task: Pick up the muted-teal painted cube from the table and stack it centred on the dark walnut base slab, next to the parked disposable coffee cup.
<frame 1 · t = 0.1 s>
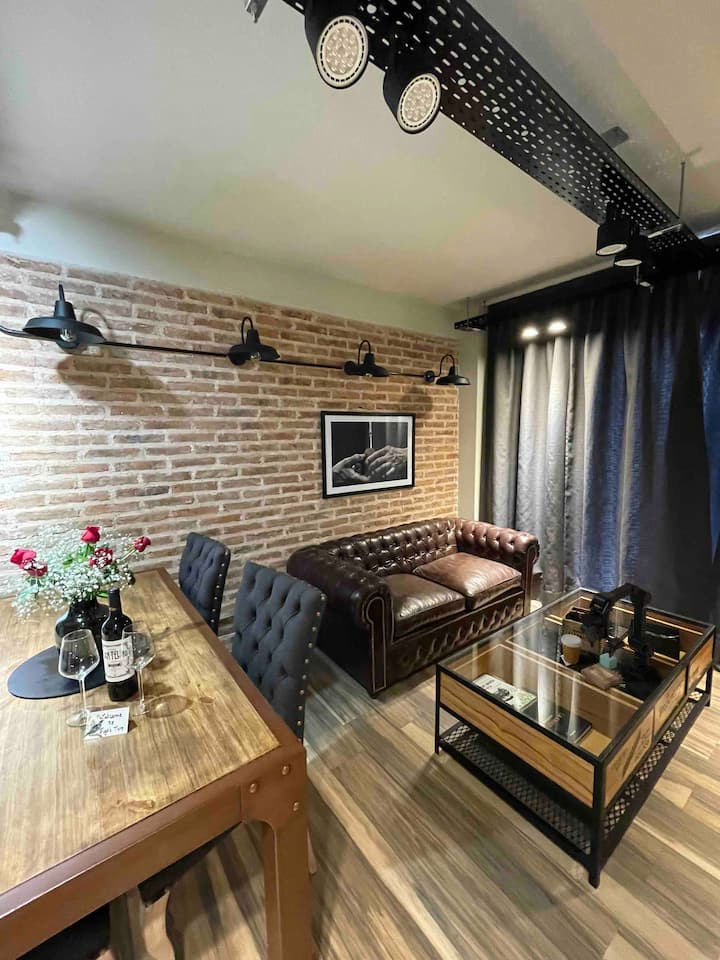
hand: (601, 652, 185), 15 cm above the table, fingers open, 9 cm apart
teal cube: (607, 666, 198), on the table
disposable coffee cup: (570, 660, 204), on the table
walnut base: (601, 678, 189), on the table
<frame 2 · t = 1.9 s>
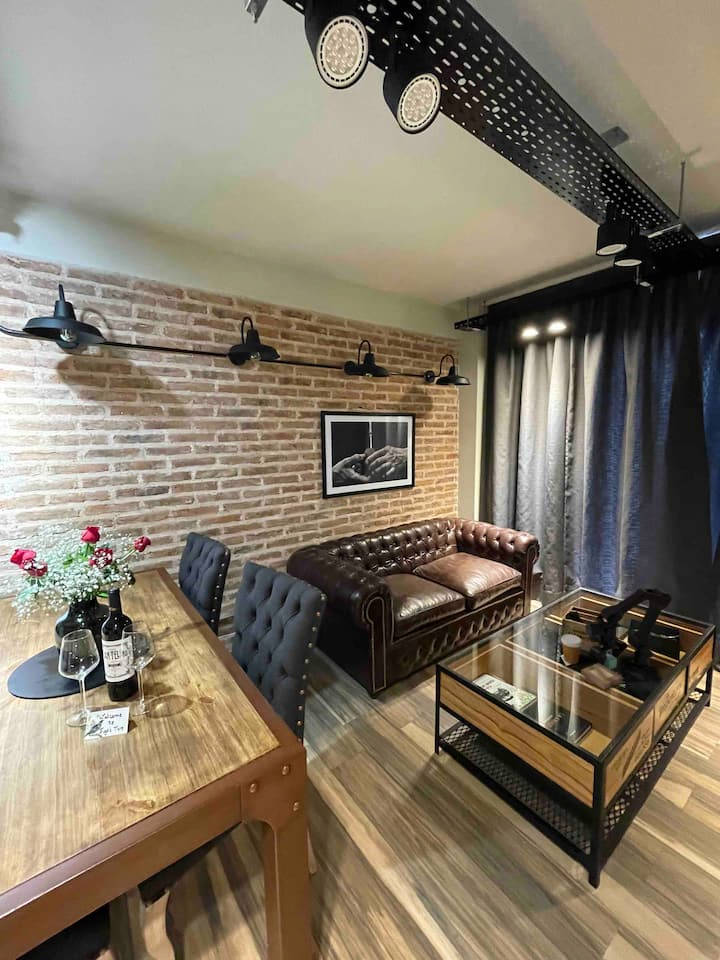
hand: (607, 663, 198), 1 cm above the table, fingers open, 8 cm apart
nothing on the table moved.
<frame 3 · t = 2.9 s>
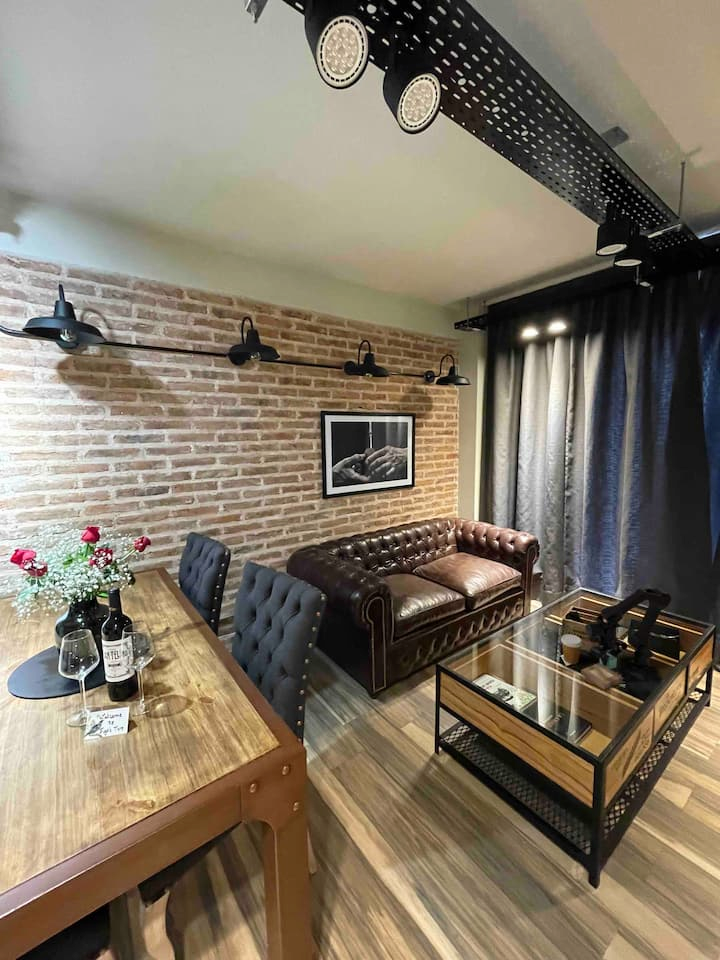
hand: (608, 663, 198), 1 cm above the table, fingers closed on teal cube, 5 cm apart
teal cube: (607, 665, 198), on the table, touching gripper
everything else where it was.
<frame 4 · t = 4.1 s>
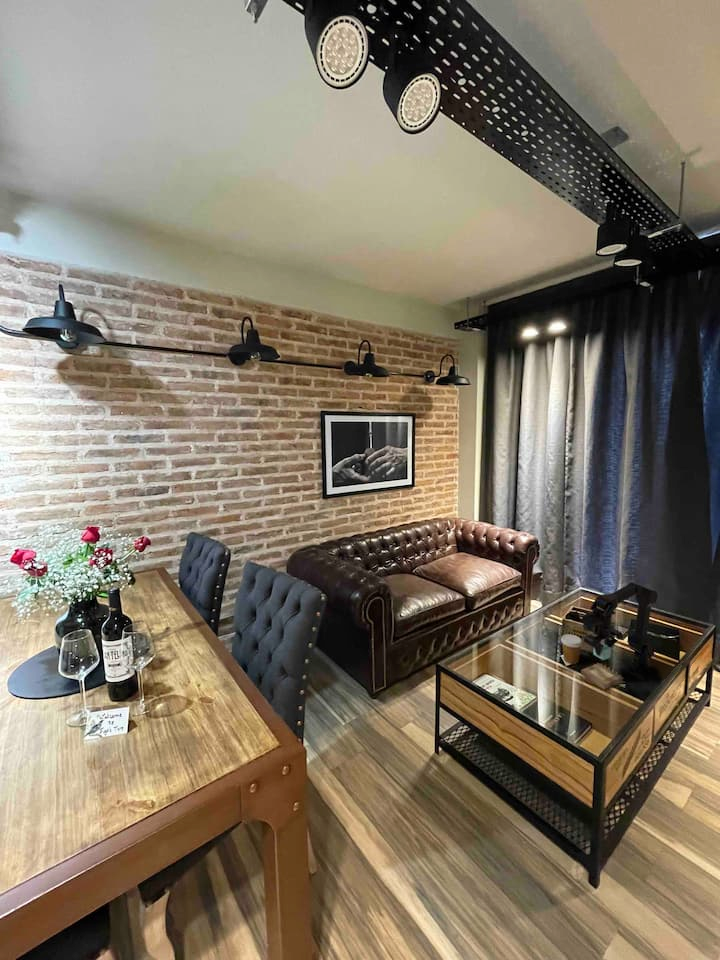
hand: (602, 654, 189), 12 cm above the table, fingers closed on teal cube, 5 cm apart
teal cube: (601, 655, 189), point 11 cm above the table, touching gripper
everything else where it was.
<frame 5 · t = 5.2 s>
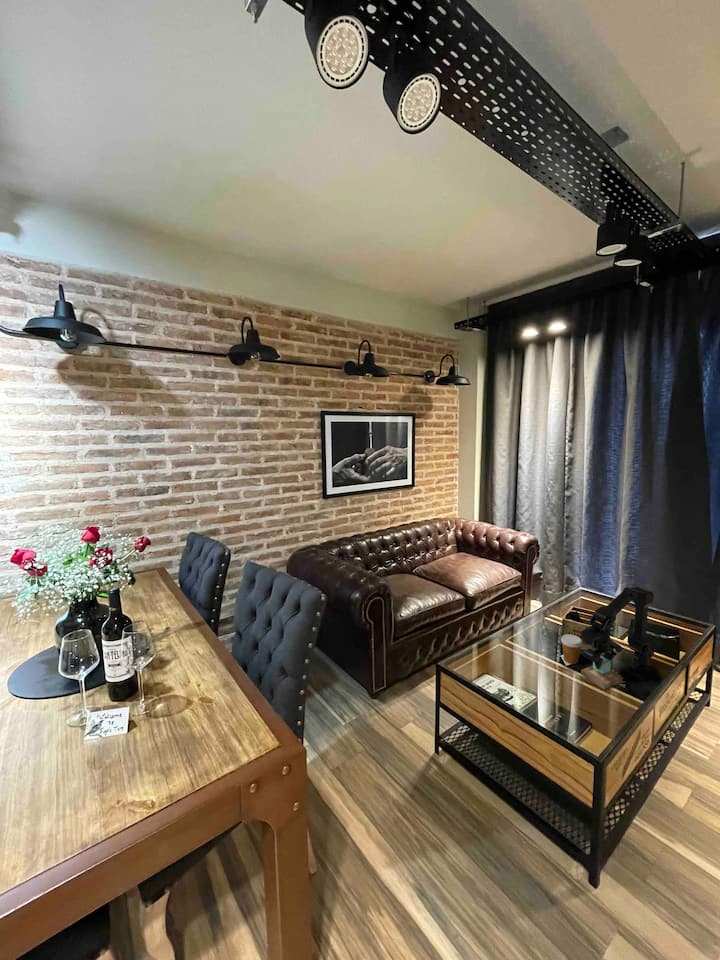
hand: (601, 667, 188), 6 cm above the table, fingers closed on teal cube, 5 cm apart
teal cube: (601, 669, 189), point 5 cm above the table, touching gripper
everything else where it was.
when the fingers open (4 cm above the table, at t = 5.8 s): teal cube stays where it is, resting on walnut base.
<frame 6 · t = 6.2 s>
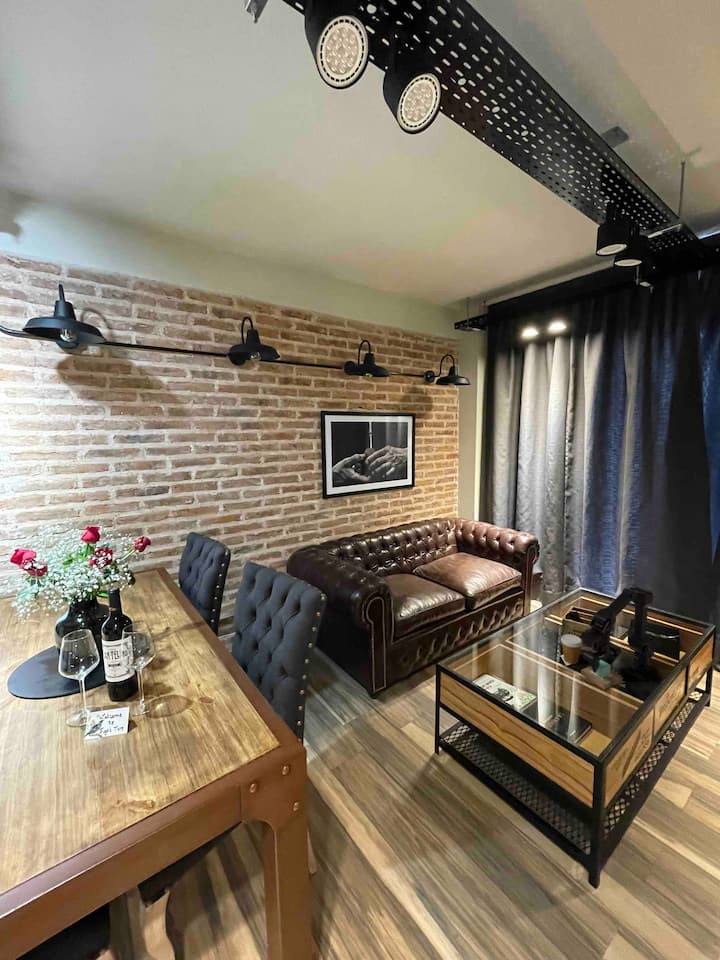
hand: (601, 669, 189), 4 cm above the table, fingers open, 9 cm apart
teal cube: (601, 673, 189), point 2 cm above the table, touching walnut base
everything else where it was.
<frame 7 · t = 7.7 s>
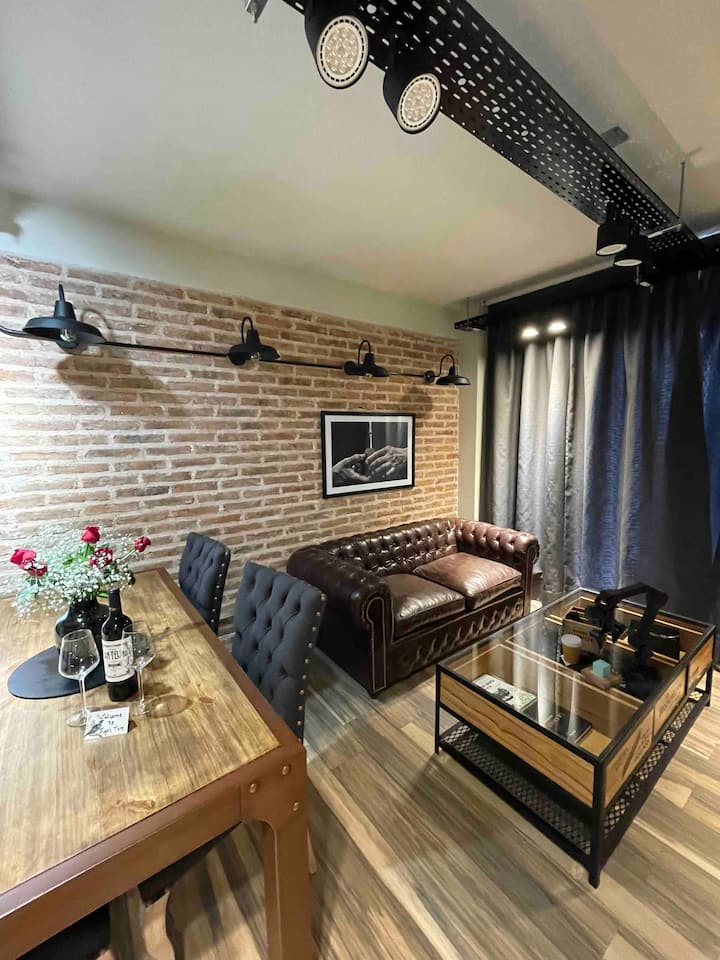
hand: (607, 646, 194), 12 cm above the table, fingers open, 9 cm apart
nothing on the table moved.
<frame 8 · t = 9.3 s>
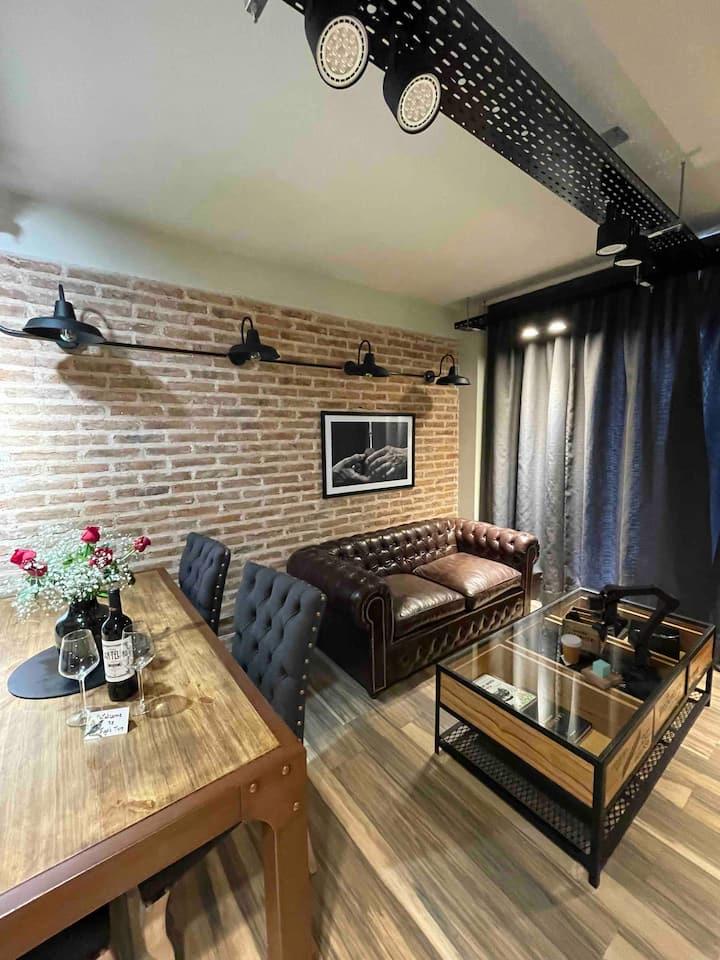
hand: (609, 639, 199), 12 cm above the table, fingers open, 9 cm apart
nothing on the table moved.
at the end: teal cube inside the target area on the walnut base (0.1 cm from its centre), point 2.5 cm above the walnut base's base; teal cube tilted 0°; the gripper is holding nothing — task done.
